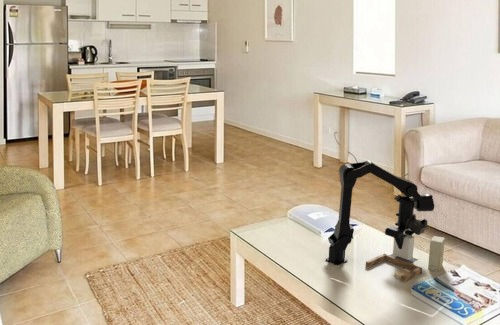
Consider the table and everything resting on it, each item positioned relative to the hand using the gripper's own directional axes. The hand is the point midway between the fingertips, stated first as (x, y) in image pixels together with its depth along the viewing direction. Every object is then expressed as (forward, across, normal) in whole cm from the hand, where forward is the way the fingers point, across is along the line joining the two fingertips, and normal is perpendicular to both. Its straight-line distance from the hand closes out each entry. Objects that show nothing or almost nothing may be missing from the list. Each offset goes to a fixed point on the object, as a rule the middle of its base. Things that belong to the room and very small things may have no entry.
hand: (402, 247), depth 207 cm
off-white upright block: (+4, 0, 0) cm, 4 cm away
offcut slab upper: (+4, -13, -9) cm, 16 cm away
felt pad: (+5, 0, 0) cm, 5 cm away
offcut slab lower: (+6, -13, -9) cm, 17 cm away
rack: (+5, -12, -4) cm, 14 cm away
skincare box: (+5, +3, -13) cm, 14 cm away
